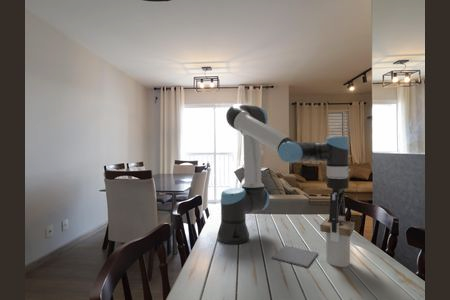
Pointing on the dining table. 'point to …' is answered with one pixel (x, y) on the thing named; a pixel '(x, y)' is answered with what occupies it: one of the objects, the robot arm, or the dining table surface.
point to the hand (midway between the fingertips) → (337, 236)
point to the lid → (344, 227)
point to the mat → (295, 256)
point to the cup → (338, 251)
